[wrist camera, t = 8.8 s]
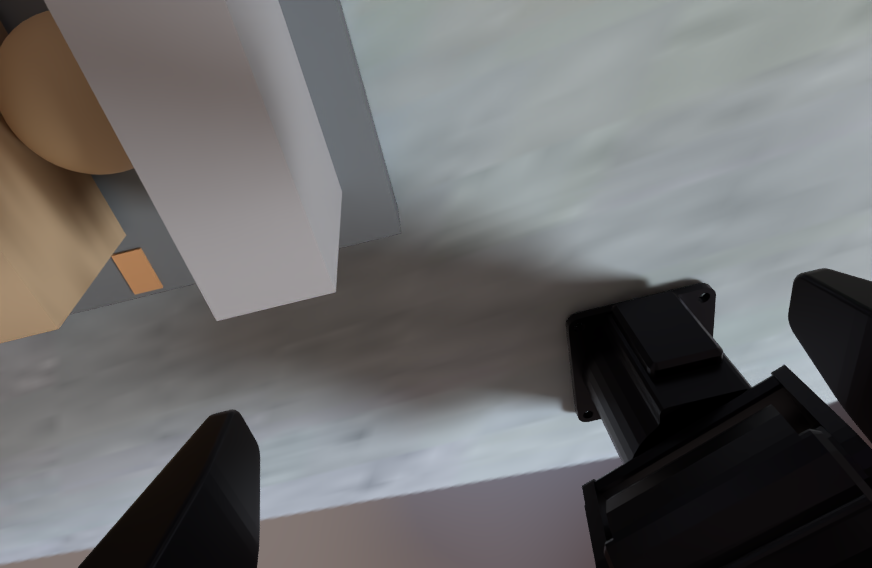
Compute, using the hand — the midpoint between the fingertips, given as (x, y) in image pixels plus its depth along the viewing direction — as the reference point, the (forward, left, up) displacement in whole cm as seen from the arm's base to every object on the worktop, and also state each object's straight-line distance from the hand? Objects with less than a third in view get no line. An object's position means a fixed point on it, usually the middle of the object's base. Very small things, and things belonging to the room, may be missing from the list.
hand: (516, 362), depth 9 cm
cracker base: (+4, +14, -13) cm, 20 cm away
